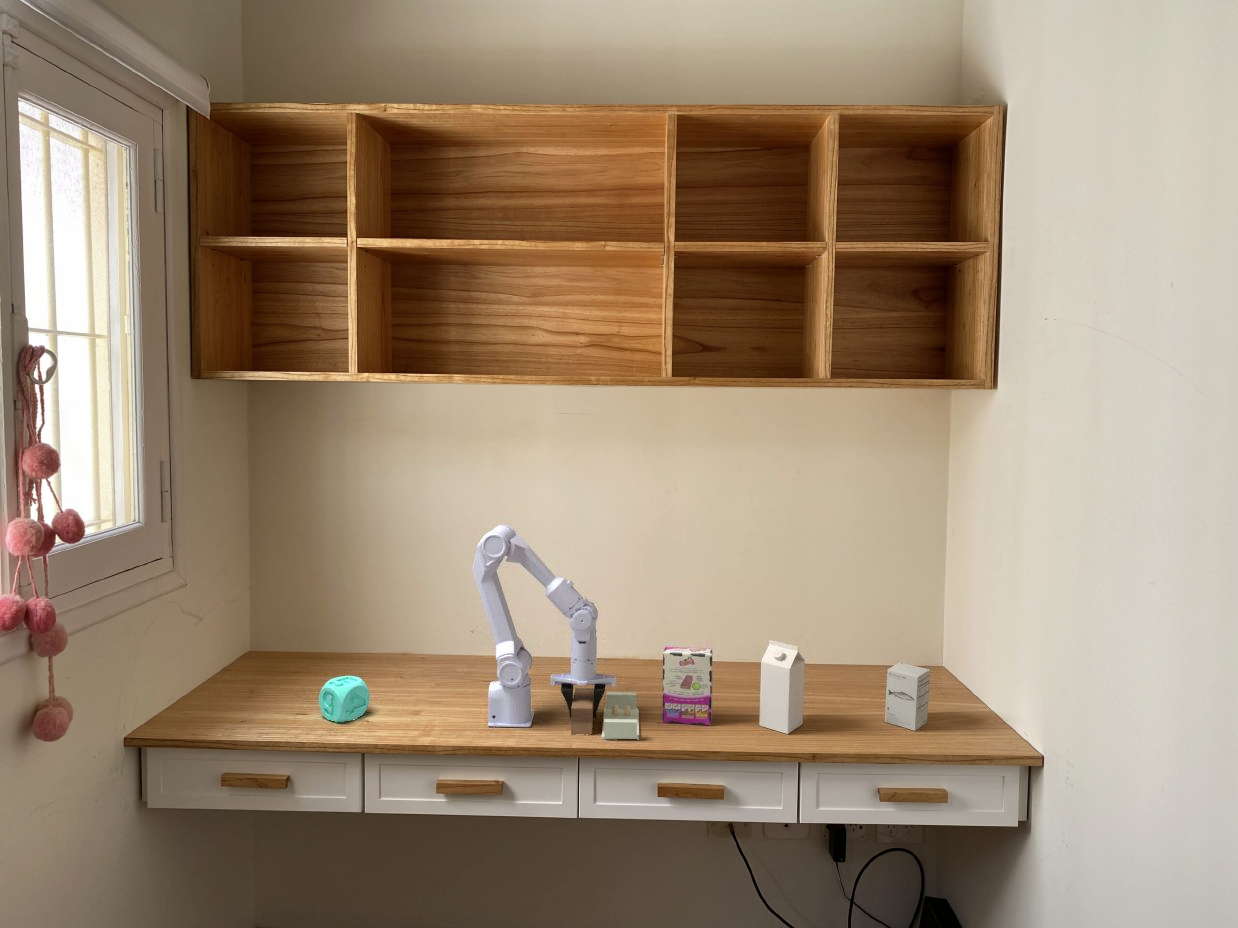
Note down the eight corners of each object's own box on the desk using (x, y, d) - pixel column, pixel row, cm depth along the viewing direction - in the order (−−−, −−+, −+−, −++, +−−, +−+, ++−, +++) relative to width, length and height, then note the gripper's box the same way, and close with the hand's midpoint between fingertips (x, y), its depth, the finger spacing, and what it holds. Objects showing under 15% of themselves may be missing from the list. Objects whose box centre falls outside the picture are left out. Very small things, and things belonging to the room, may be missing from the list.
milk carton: (774, 716, 189) (777, 636, 187) (802, 724, 185) (805, 642, 183) (759, 726, 184) (761, 643, 182) (787, 734, 179) (790, 650, 177)
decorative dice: (370, 713, 188) (369, 680, 187) (341, 725, 181) (341, 690, 180) (347, 706, 192) (346, 673, 191) (318, 717, 185) (317, 683, 185)
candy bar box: (711, 717, 188) (713, 647, 187) (711, 726, 183) (713, 654, 182) (663, 714, 190) (664, 645, 188) (661, 722, 185) (662, 652, 183)
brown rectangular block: (591, 735, 178) (592, 708, 177) (571, 734, 178) (571, 708, 177) (594, 713, 190) (594, 688, 189) (574, 713, 190) (575, 688, 189)
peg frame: (639, 740, 175) (639, 722, 175) (601, 740, 175) (601, 721, 175) (638, 709, 192) (638, 692, 192) (604, 708, 192) (604, 691, 192)
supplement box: (883, 722, 186) (885, 668, 185) (897, 713, 192) (899, 660, 191) (915, 732, 181) (917, 676, 180) (928, 722, 187) (931, 668, 186)
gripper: (549, 662, 178) (549, 722, 180) (615, 663, 178) (615, 723, 180) (552, 652, 185) (552, 710, 187) (616, 653, 185) (615, 711, 187)
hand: (583, 716), depth 184 cm, fingers closed on brown rectangular block, 4 cm apart
